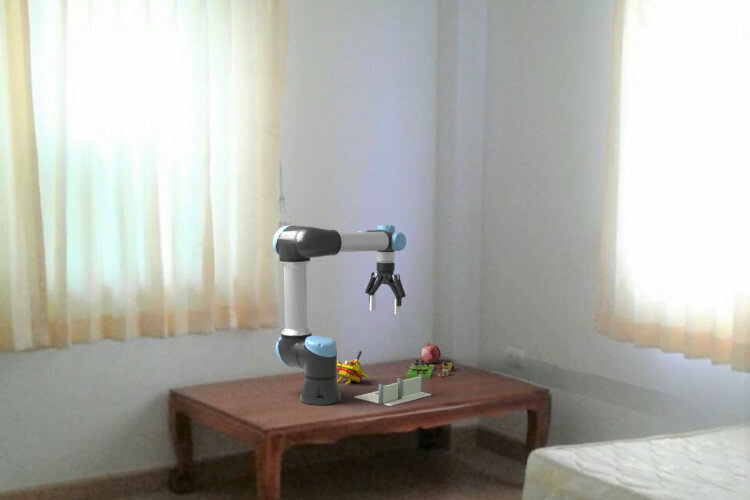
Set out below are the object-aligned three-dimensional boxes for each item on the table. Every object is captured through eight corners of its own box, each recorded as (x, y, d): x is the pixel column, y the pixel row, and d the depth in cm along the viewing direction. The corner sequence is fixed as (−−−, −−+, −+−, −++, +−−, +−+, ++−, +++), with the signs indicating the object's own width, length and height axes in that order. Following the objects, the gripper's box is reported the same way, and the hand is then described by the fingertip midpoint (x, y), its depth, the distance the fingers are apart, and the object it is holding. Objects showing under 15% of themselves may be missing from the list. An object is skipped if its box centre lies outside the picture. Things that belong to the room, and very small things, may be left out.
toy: (327, 377, 370) (341, 344, 374) (343, 386, 376) (357, 353, 380) (348, 383, 360) (363, 348, 364) (364, 392, 366) (378, 358, 370)
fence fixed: (381, 405, 333) (381, 383, 332) (377, 404, 334) (377, 382, 334) (403, 399, 342) (403, 378, 342) (399, 398, 343) (399, 377, 343)
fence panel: (404, 396, 343) (404, 379, 342) (400, 396, 344) (401, 378, 343) (423, 391, 351) (423, 374, 351) (420, 391, 352) (420, 373, 352)
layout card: (389, 406, 332) (389, 404, 332) (354, 397, 344) (354, 396, 344) (431, 395, 350) (431, 394, 350) (396, 387, 362) (396, 386, 362)
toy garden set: (411, 367, 403) (411, 357, 403) (454, 369, 401) (454, 359, 400) (405, 378, 381) (405, 368, 380) (451, 380, 378) (451, 369, 378)
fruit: (442, 361, 416) (442, 339, 415) (438, 365, 407) (439, 343, 406) (422, 360, 418) (422, 338, 418) (418, 364, 409) (418, 342, 408)
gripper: (414, 263, 373) (413, 314, 375) (369, 259, 390) (368, 308, 391) (402, 264, 368) (402, 316, 369) (357, 260, 384) (356, 310, 386)
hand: (384, 312), depth 380 cm, fingers open, 13 cm apart
